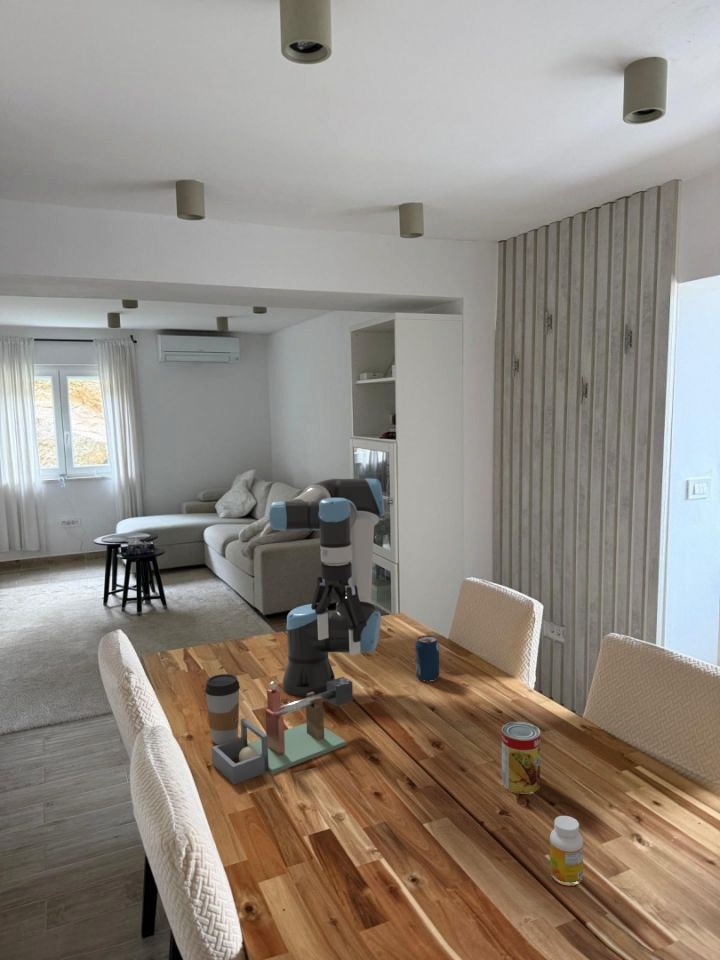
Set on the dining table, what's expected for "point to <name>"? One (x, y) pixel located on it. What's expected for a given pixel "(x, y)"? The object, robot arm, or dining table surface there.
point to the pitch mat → (298, 747)
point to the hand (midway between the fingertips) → (338, 646)
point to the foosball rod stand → (335, 694)
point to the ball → (247, 753)
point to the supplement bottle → (566, 850)
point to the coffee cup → (223, 707)
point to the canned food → (520, 757)
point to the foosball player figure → (315, 718)
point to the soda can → (427, 658)
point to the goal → (232, 749)
